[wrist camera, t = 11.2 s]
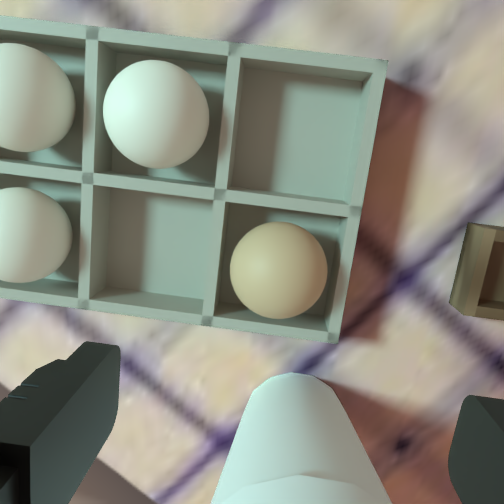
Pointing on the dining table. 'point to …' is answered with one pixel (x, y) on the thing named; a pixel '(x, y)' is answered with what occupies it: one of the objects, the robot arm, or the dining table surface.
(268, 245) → the beige sphere
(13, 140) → the cream egg
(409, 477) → the dining table surface
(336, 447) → the foam cup
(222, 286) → the egg carton
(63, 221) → the cream egg
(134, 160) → the cream egg
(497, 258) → the egg stand
